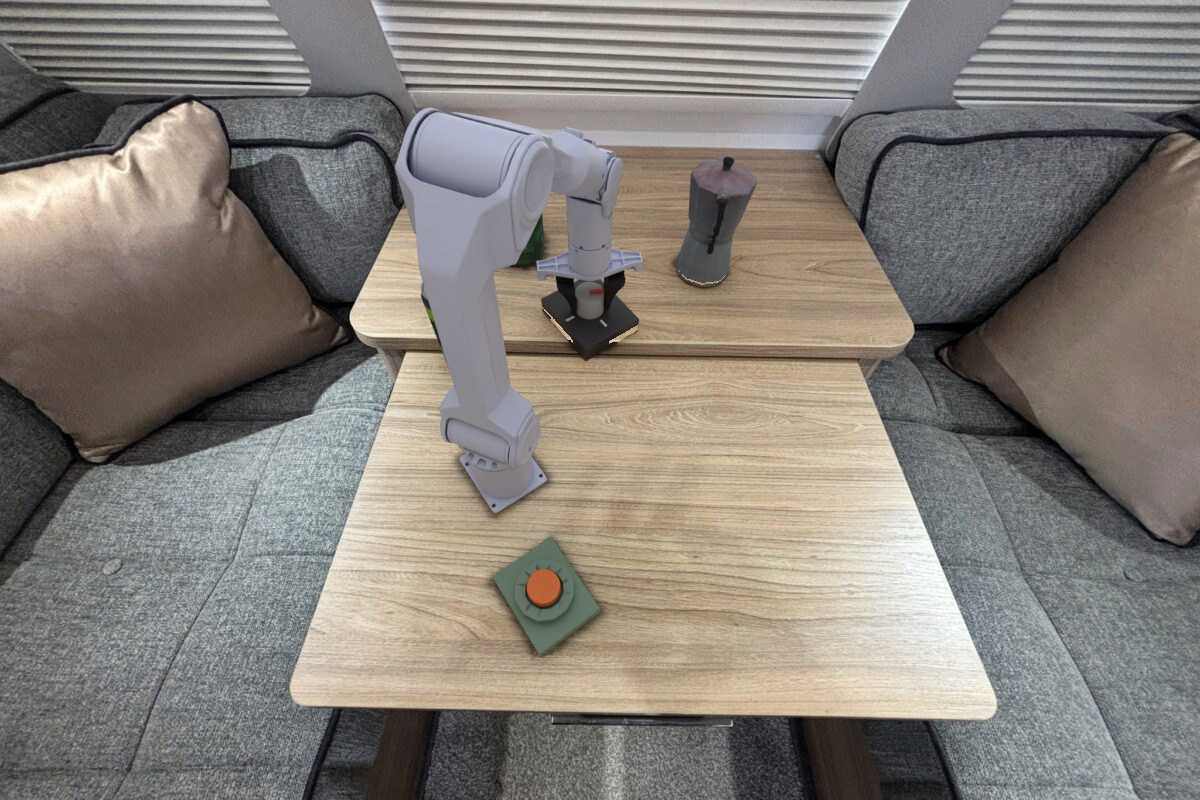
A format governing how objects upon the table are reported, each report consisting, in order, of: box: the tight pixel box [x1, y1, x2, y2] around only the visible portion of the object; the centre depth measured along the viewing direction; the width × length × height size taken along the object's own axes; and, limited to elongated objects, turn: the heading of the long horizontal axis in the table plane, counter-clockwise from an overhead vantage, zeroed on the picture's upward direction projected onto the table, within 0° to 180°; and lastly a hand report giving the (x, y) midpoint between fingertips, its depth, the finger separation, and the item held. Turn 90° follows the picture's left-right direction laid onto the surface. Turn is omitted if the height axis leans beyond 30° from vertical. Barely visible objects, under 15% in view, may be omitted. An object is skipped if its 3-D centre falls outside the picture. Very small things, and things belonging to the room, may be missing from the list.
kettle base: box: [492, 536, 601, 658], centre depth 60 cm, size 10×8×4 cm
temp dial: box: [575, 282, 605, 319], centre depth 79 cm, size 4×4×4 cm
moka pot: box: [675, 154, 758, 288], centre depth 81 cm, size 10×15×20 cm, turn 174°
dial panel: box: [540, 279, 640, 362], centre depth 82 cm, size 12×10×3 cm
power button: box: [527, 569, 561, 607], centre depth 58 cm, size 4×4×2 cm
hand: (589, 306), depth 81 cm, fingers closed on temp dial, 4 cm apart
